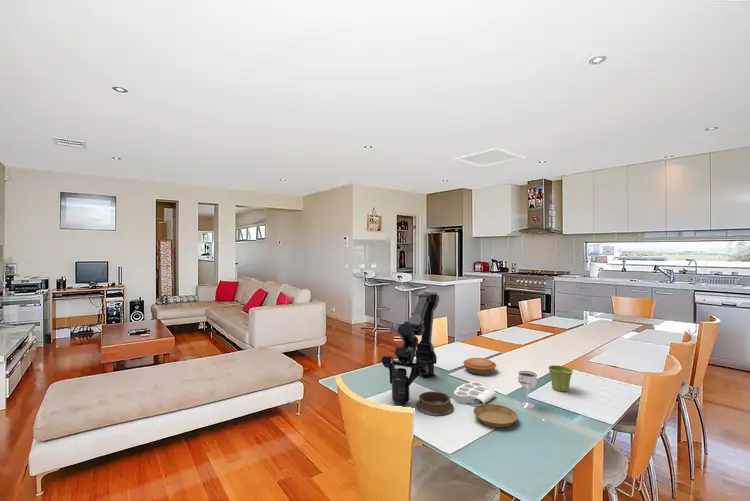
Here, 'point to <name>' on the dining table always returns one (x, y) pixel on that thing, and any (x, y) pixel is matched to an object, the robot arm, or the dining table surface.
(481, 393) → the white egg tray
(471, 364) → the pie
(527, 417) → the dining table surface
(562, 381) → the plant pot
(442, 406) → the walnut collar
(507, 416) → the plant saucer
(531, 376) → the wineglass
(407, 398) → the supplement bottle
